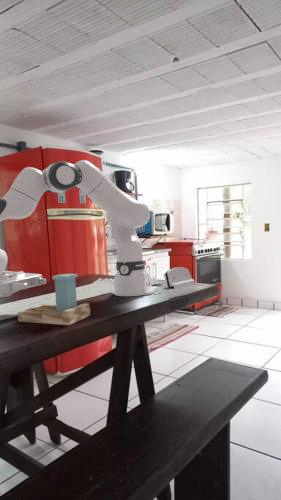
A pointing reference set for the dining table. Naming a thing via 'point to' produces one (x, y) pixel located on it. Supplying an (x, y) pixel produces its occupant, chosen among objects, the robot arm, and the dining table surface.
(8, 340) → the dining table surface
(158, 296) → the dining table surface
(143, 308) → the dining table surface
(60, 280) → the post
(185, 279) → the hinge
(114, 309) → the dining table surface
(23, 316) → the keyhole board
